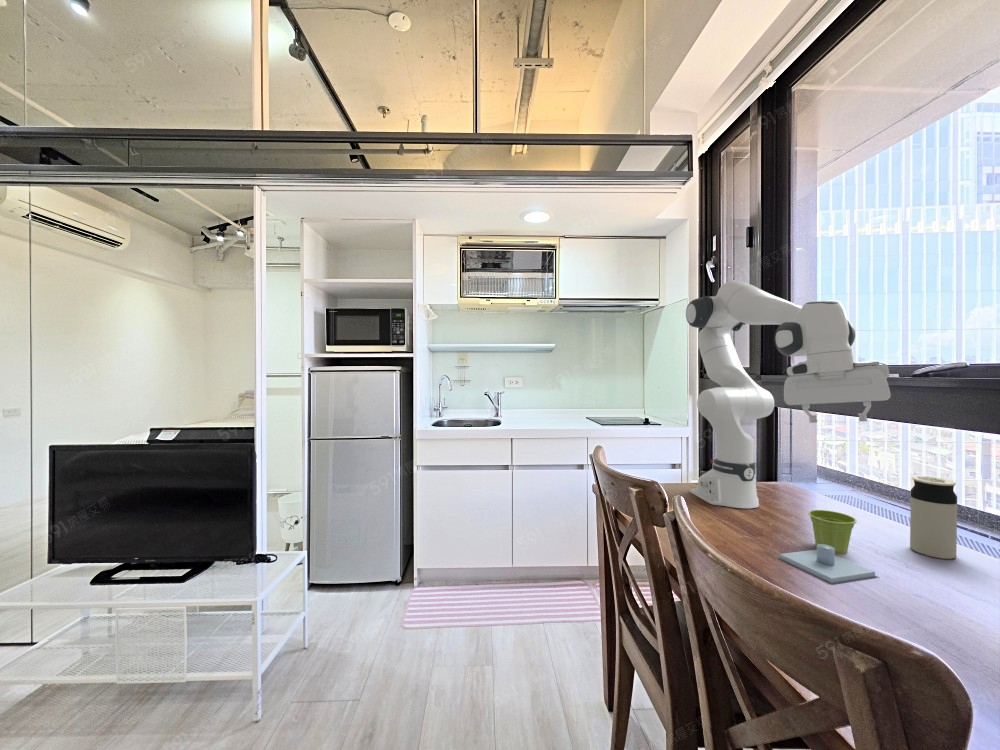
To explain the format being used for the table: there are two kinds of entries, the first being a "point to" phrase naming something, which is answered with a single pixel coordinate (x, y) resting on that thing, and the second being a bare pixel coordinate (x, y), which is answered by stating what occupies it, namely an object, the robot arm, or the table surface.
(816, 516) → the plant pot
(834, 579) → the lid
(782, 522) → the table surface
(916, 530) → the travel mug
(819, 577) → the mat
